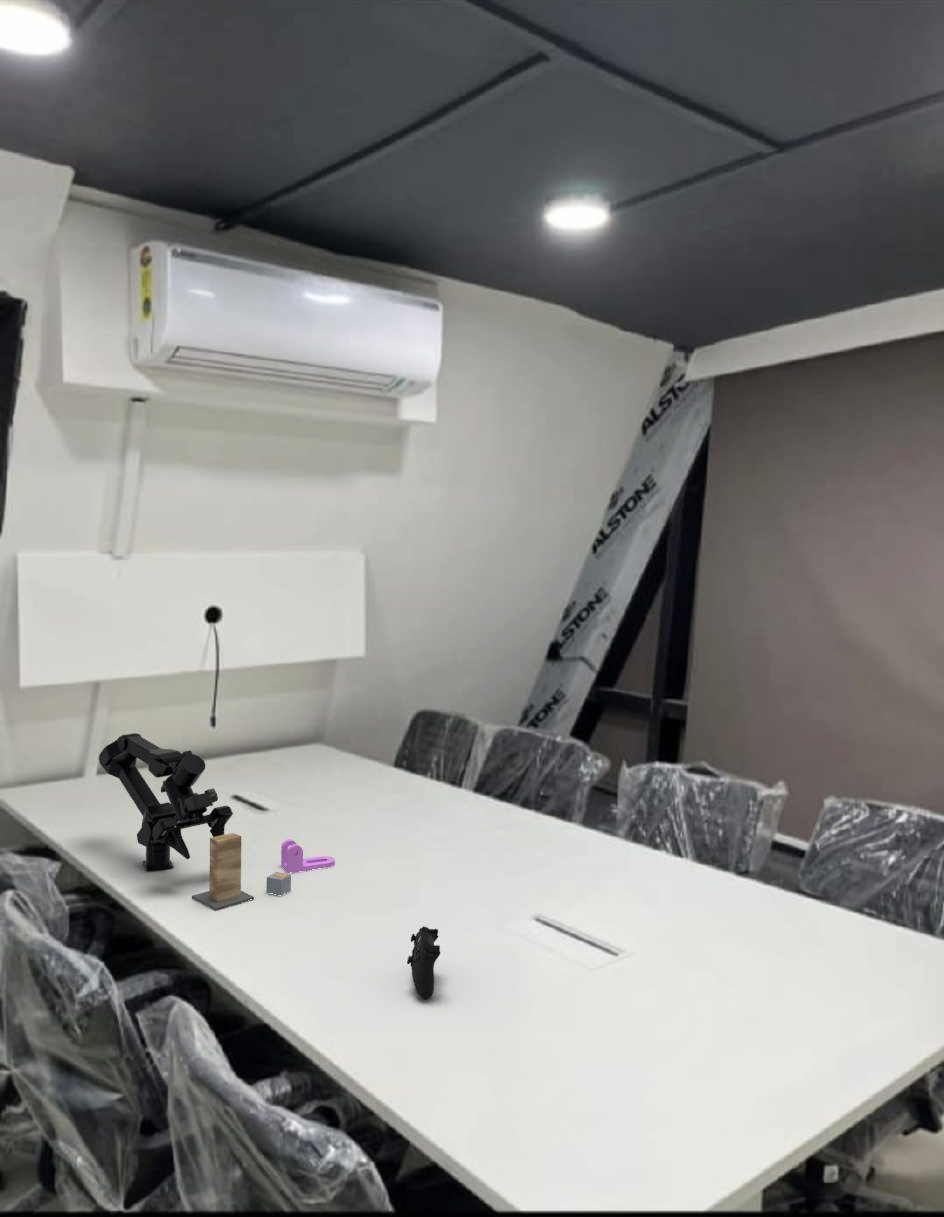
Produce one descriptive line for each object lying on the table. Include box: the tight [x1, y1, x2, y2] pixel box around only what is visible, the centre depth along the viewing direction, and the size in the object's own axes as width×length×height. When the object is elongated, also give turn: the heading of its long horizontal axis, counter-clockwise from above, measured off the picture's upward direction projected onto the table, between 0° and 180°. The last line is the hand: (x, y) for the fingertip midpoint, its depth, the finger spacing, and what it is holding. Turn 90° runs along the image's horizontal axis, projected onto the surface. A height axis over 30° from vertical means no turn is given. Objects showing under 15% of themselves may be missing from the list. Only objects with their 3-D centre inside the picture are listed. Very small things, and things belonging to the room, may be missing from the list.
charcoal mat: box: [191, 890, 255, 911], centre depth 227 cm, size 10×10×1 cm
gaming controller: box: [406, 926, 441, 1000], centre depth 187 cm, size 14×6×10 cm, turn 5°
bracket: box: [280, 838, 336, 874], centre depth 250 cm, size 13×6×7 cm, turn 119°
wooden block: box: [208, 832, 242, 902], centre depth 226 cm, size 4×6×14 cm, turn 136°
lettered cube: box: [266, 871, 292, 896], centre depth 232 cm, size 4×4×4 cm
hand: (206, 853), depth 231 cm, fingers open, 9 cm apart
